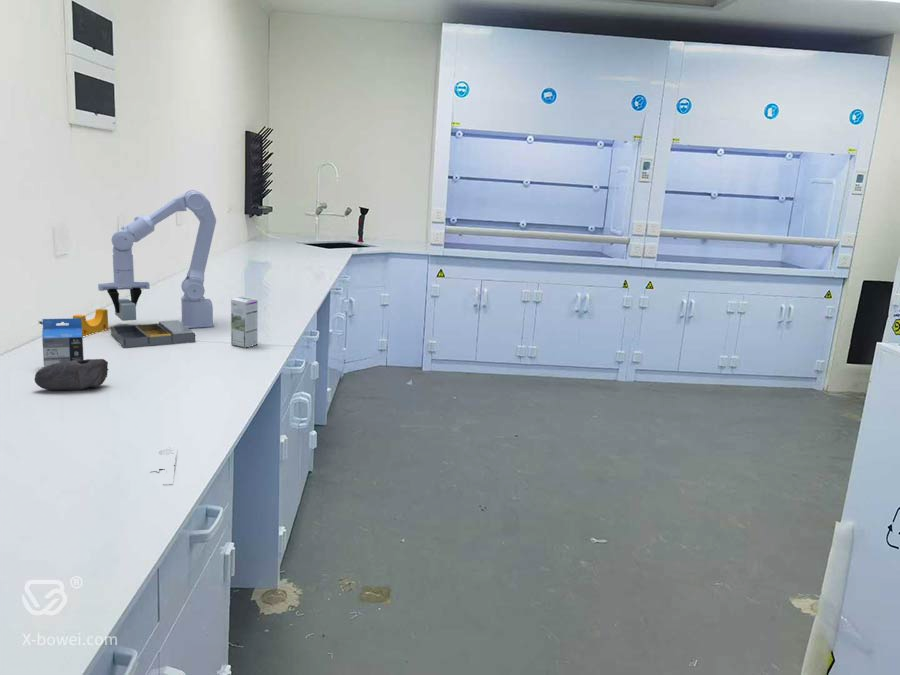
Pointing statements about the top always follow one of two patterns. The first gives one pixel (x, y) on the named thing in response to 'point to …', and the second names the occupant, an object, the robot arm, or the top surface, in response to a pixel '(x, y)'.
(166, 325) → the grey compartment tray
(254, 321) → the syrup box
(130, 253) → the robot arm
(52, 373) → the perforated stone tool
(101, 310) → the pipe clamp
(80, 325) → the ink cartridge box
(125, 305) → the tall blue-grey block
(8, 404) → the top surface
